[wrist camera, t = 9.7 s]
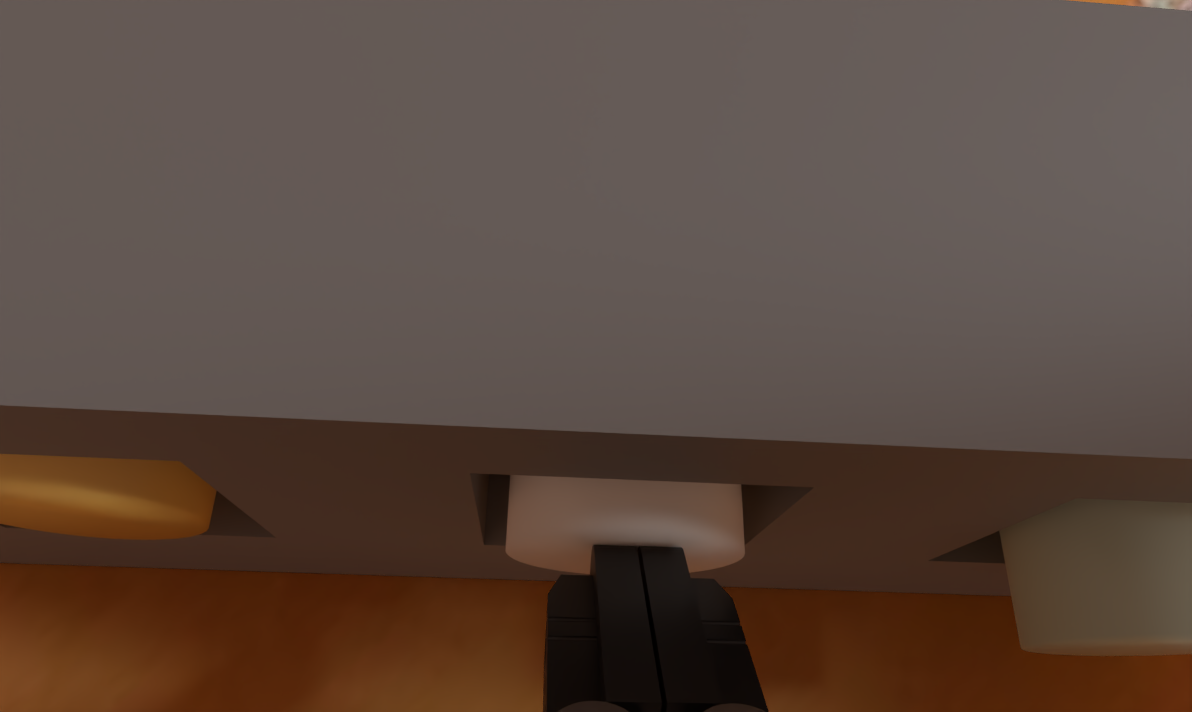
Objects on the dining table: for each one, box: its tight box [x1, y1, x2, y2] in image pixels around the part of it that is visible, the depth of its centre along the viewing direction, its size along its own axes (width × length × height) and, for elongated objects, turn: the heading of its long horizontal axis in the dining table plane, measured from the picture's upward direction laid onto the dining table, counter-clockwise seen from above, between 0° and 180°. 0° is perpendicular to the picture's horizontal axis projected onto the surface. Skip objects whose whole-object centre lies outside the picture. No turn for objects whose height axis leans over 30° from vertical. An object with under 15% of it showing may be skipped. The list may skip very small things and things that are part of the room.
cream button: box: [505, 475, 745, 574], centre depth 15 cm, size 4×6×4 cm, turn 179°
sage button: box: [999, 498, 1192, 656], centre depth 15 cm, size 4×6×4 cm, turn 179°
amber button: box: [0, 454, 217, 540], centre depth 15 cm, size 4×6×4 cm, turn 179°
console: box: [0, 0, 1192, 596], centre depth 17 cm, size 28×8×11 cm, turn 89°
